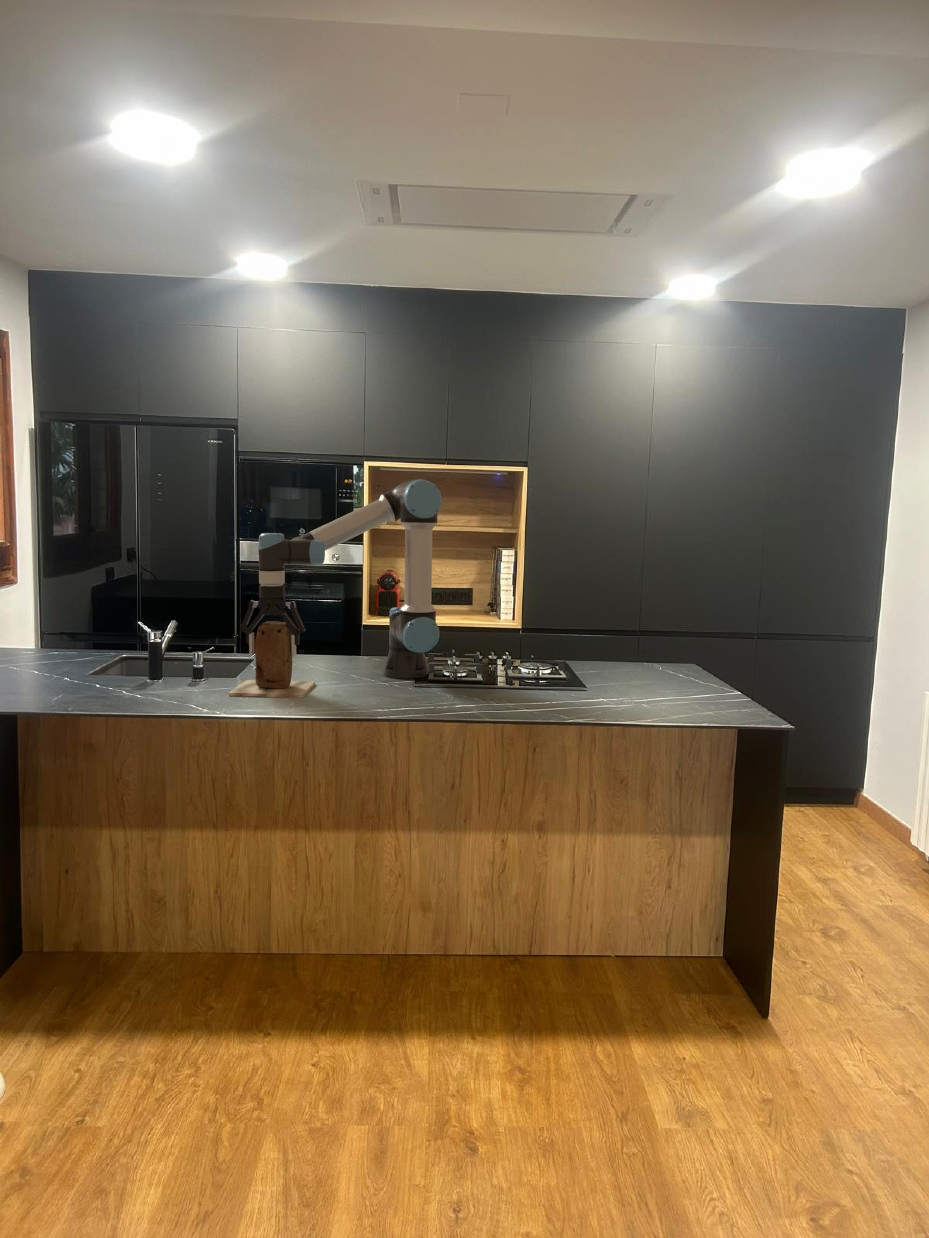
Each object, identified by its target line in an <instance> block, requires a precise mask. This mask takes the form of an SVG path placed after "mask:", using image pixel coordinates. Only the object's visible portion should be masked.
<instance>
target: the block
mask: <svg viewBox="0 0 929 1238" xmlns="http://www.w3.org/2000/svg"><path fill="white" fill-rule="evenodd" d="M255 635H256V636H255V641H254V656H255V657H254V658H255V667H254V668H255V679H254V680H256V685H257V686H258V687H265V688H286V687H288V686H290V683H291V681H292V676H293V675H292V673H293V656H292V635H293V632H292V630H291V629H290V628H289V626H288V625H287V624H286V623H285V621H279V620H272V621H270V620H267V621H265V622H264V621H263V622H262V623H261V624H260V625H259V627H258V629H257V632H256V634H255Z"/></svg>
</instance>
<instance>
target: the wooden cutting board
mask: <svg viewBox="0 0 929 1238" xmlns="http://www.w3.org/2000/svg"><path fill="white" fill-rule="evenodd" d="M314 685H315V686H316V681H308V680H306V681H305V680H304V681H303V680H291V683H290V686H288V687H286V688H265V687H258V686H257V685H256V679H246V680H244V681H242V682H241V683H240V684H238V685H237V686H236V687H235V688H233V689H232V690H231V691H229V692H228V697H245V696H261V697H260V698H291V699H292V698H293V699H303V698H304V697H305V696H306V695H307V694H308V693H309V692H310V691H311V688H312V689H313V688H314ZM264 696H265V697H264Z"/></svg>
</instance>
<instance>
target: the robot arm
mask: <svg viewBox="0 0 929 1238" xmlns="http://www.w3.org/2000/svg"><path fill="white" fill-rule="evenodd" d="M442 503H443V497H442V494H441V491H440V489H439V488H438V487H437V486H436V485H435V483H433V482H431V481H430V480H427V479H423V478H420V479H410V480H406V481H403V482H401V483H400V484H398V485H397V486H395V487H394V488H392V489H390V490H388V491H387V492H384V493H382V494H380V497H379V498H378V499H377V500H374V501H372V502H371V503H368V504H366V505H364V506H362V507H360V508H358V509H356V510H354V511H351V512H349V513H347V514H345V515H343V516H341V517H339V518H336V519H334V520H333V521H330V522H328V523H326V524H323V525H321V526H319V527H317V528H315V529H313V530H311V531H309V532H306V533H305V534H302V535H300V536H296V537H293V538H292V539H291V540H290V539H286V538H285V534H283V533H280V532H279V533H276V532H273V533H272V532H264V533H263V532H262V533H261V534H260V535H259V536H258V547H257V549H258V584H260V585H259V590H258V591H259V595H258V596H259V600H256V601H255V600H253V599H251V600H250V601H248V609H247V611H246V613H245V616H244V618H243V620H242V623H241V625H240V627H239V631H240V632H241V633H242V632H243V633H245V644H247V645H248V646H249V647H248V648H249V656H254V655H255V632H253V630H254V629H255V628H256V626H257V625H258V623H260V621H261V620H262V618H263V617H264V616H269V617H270V616H274V617H276V616H279V617H280V618H282V620H283V622H285V623H286V624H287V625H288V626H289V628H290V629H291V631H292V657H295V656H297V646H298V645H300V642H301V641H300V634H303V633H305V632H306V627H305V625H304V623H303V620H302V619H301V616H300V613H299V612H298V609H297V604H296V603H297V602H296V601H295V600H293V601H286V587H285V585H284V584H285V580H286V579H285V577H286V575H285V573H286V571H285V570H286V569H285V566H286V565H287V566H290V565H291V566H292V565H293V566H294V565H298V566H299V565H300V566H309V565H310V566H316V565H317V566H318V565H322V564H324V562H325V560H326V559H325V558H326V551H328V550H329V549H332V548H334V547H336V546H338V545H340V544H343V543H344V542H346V541H349V540H351V539H354V538H355V537H358V536H359V535H361V534H364V533H366V532H368V531H371V530H372V529H374V528H376V527H379V526H381V525H383V524H385V523H387V522H389V521H390V522H393V523H394V522H397V521H398V520H400V524H401V525H402V527H403V528H404V529H405V530H404V543H405V544H404V598H403V600H404V602H403V605H402V606H400V607H397V606H395V607H392V608H390V609H389V615H388V619H389V624H388V625H389V631H388V634H389V635H388V637H389V638H388V639H389V641H388V642H389V643H388V645H389V646H388V647H389V649H388V650H389V651H388V655H387V658H386V661H385V664H384V666H383V667H384V668H383V675H384V676H385V677H388V678H393V679H405V680H407V679H409V680H411V679H421V678H425V677H427V676H426V675H427V674H428V671H429V670H430V668H429V663H428V662H427V658H426V655H425V653H427V652H429V651H431V650H433V648H434V647H436V645H437V644H438V642H439V638H440V629H439V626H438V623H437V618H436V617H437V609H436V608H435V607H434V606H433V604H432V590H433V589H432V587H433V586H432V585H433V584H432V583H433V580H432V577H433V571H432V569H433V529H434V528H435V527H436V526H437V525H438V515H439V514H438V512H439V511H440V509H441V507H442ZM257 607H259V608H260V611H259V612H258V614H257V616H256V617H255V618H254V619H253V621H252V622H251V623H250V625H248V624H249V622H250V620H251V618H252V616H253V613H254V610H255V608H257ZM286 607H287V608H288V609H289V611H290V612H291V614H292V618H293V619H294V622H295V623H296V624H295V623H294V622H293V620H292V619H291V618H290V616H289V615H288V613H287V612H286V611H285V608H286ZM247 626H248V627H247ZM429 672H430V671H429Z"/></svg>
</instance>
